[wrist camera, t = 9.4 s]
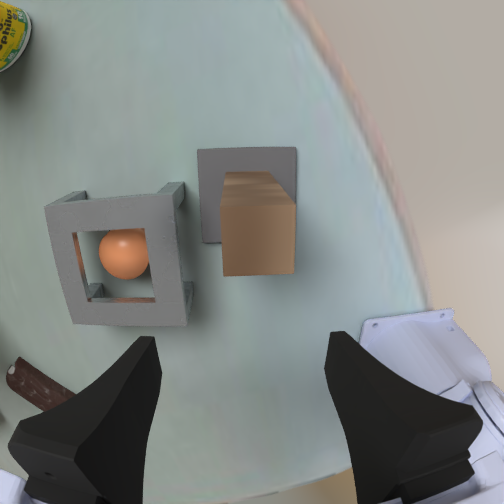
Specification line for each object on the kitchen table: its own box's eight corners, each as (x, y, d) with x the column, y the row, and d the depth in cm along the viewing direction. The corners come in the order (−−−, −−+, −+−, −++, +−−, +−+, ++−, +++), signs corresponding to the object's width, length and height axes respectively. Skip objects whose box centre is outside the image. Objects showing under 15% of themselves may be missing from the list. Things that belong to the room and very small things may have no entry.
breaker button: (152, 218, 20) (144, 227, 18) (158, 266, 22) (151, 279, 20) (105, 221, 20) (94, 231, 18) (113, 267, 21) (104, 279, 20)
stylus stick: (268, 170, 19) (296, 205, 11) (268, 211, 20) (294, 273, 12) (225, 171, 19) (220, 207, 11) (227, 212, 20) (223, 276, 12)
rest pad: (294, 147, 19) (295, 147, 19) (293, 237, 21) (294, 239, 21) (197, 149, 19) (197, 149, 18) (203, 240, 21) (202, 242, 21)
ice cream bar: (135, 423, 29) (15, 350, 25) (133, 435, 27) (8, 359, 23) (119, 441, 30) (10, 375, 26) (116, 451, 28) (4, 384, 24)
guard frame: (183, 181, 20) (172, 194, 16) (193, 293, 23) (187, 326, 19) (73, 192, 19) (44, 206, 15) (93, 295, 22) (73, 323, 18)
